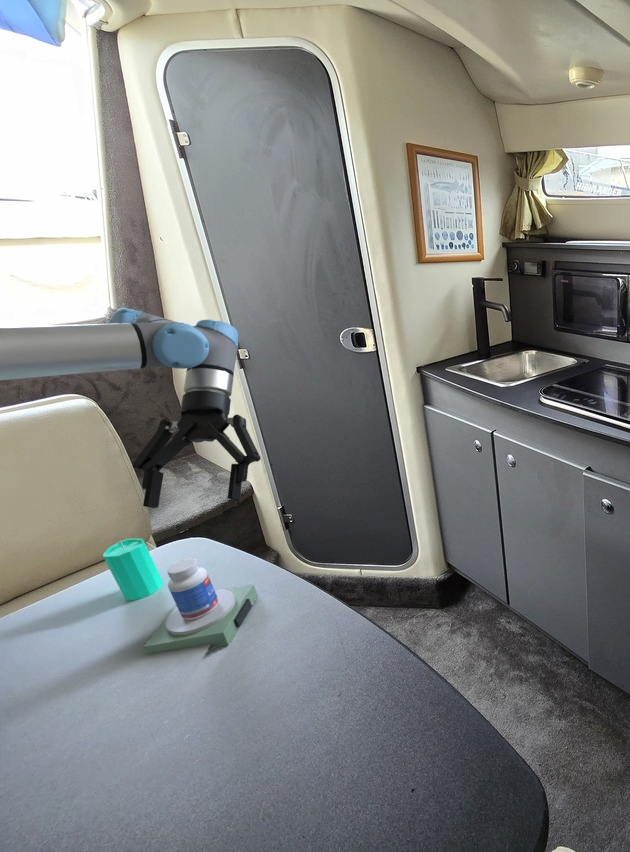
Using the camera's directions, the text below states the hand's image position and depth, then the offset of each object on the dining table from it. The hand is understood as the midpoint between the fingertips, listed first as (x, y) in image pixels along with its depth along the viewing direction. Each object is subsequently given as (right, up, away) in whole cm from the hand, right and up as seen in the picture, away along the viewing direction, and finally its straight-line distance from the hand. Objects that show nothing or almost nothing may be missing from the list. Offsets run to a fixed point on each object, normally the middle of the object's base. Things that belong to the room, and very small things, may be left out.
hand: (192, 503), depth 91 cm
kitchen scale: (+4, -22, -1) cm, 22 cm away
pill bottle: (+4, -19, -3) cm, 19 cm away
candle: (-17, -19, +8) cm, 27 cm away
